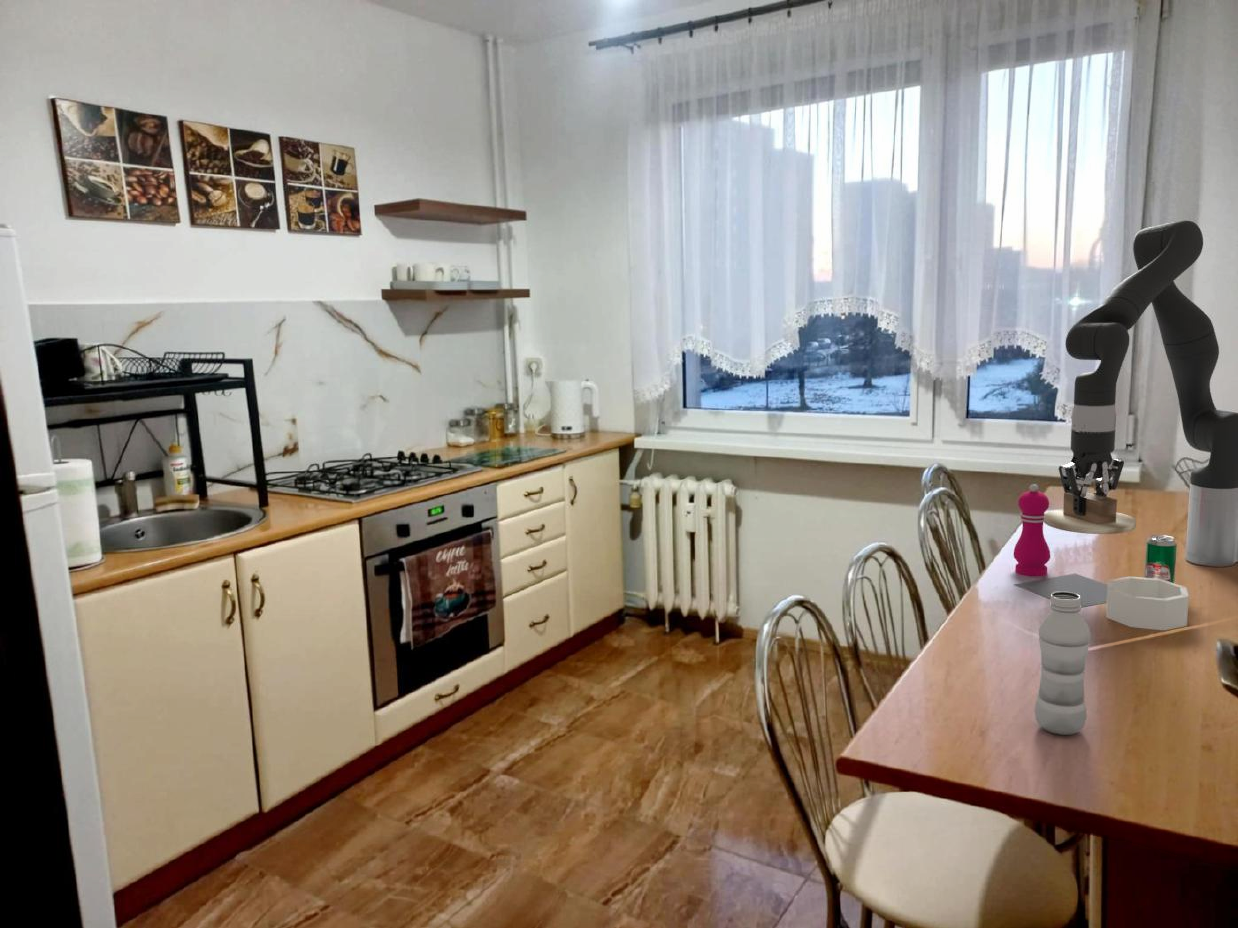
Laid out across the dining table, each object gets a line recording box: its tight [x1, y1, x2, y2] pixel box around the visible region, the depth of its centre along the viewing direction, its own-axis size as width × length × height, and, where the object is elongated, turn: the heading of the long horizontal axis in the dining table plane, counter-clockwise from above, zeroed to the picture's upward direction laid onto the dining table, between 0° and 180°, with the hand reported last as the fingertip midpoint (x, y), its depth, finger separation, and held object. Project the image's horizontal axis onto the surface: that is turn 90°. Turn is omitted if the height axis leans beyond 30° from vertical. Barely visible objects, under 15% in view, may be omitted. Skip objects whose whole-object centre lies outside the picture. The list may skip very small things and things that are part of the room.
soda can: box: [1143, 534, 1178, 583], centre depth 172 cm, size 5×5×12 cm
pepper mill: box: [1013, 483, 1051, 578], centre depth 189 cm, size 7×7×20 cm
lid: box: [1043, 491, 1137, 535], centre depth 172 cm, size 16×16×6 cm
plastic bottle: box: [1034, 592, 1092, 736], centre depth 123 cm, size 6×7×20 cm
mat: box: [1013, 573, 1107, 609], centre depth 178 cm, size 16×16×1 cm
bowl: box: [1105, 575, 1190, 631], centre depth 162 cm, size 13×13×6 cm
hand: (1089, 513), depth 172 cm, fingers closed on lid, 4 cm apart
